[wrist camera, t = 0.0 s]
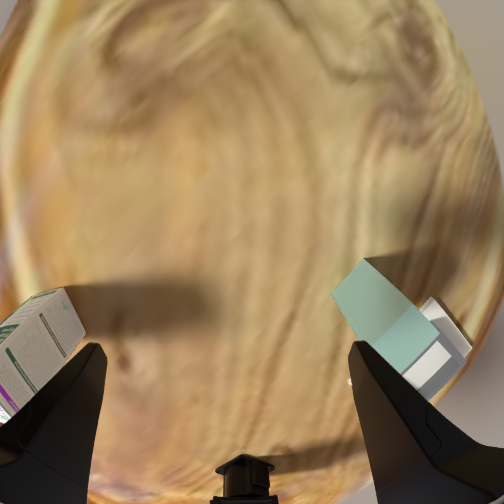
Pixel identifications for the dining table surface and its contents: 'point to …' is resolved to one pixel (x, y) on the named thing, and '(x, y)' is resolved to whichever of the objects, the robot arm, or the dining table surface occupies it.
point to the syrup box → (35, 347)
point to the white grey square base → (437, 354)
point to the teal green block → (383, 316)
